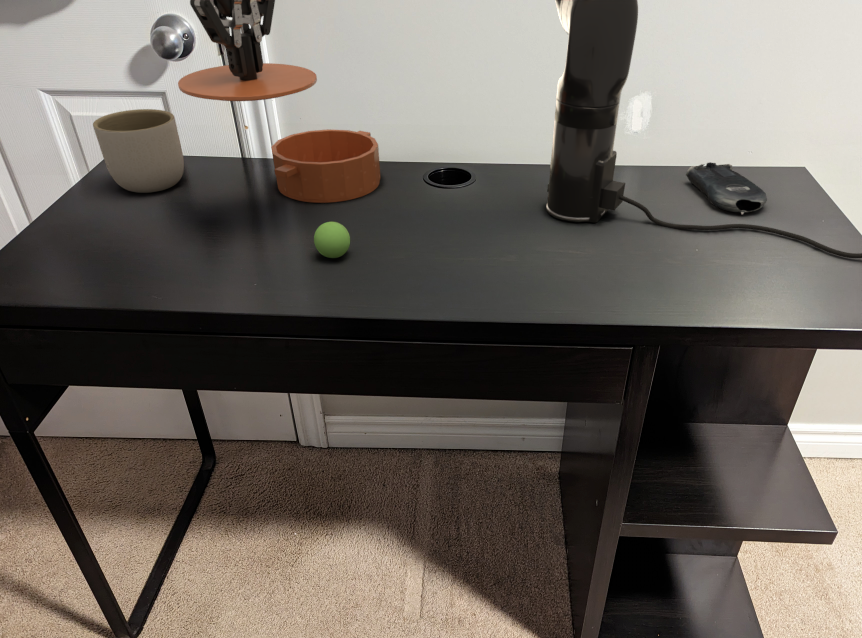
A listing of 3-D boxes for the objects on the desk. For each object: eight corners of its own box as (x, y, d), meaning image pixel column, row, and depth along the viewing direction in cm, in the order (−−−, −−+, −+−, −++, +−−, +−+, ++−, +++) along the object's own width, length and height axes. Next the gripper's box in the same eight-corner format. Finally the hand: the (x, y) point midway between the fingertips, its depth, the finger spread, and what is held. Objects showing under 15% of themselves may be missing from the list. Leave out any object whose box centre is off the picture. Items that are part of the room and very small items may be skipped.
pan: (407, 171, 124) (405, 135, 120) (328, 216, 108) (323, 176, 104) (330, 155, 130) (326, 120, 127) (245, 195, 114) (237, 156, 110)
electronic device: (677, 191, 120) (722, 214, 108) (686, 159, 118) (733, 178, 105) (724, 195, 123) (773, 217, 110) (733, 163, 120) (785, 182, 107)
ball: (358, 253, 98) (355, 220, 95) (337, 267, 94) (333, 233, 91) (330, 245, 100) (327, 213, 97) (309, 259, 96) (304, 226, 93)
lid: (344, 81, 98) (339, 30, 94) (253, 113, 85) (243, 56, 81) (247, 65, 106) (239, 17, 102) (149, 92, 93) (136, 39, 89)
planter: (96, 191, 115) (74, 125, 109) (149, 167, 124) (132, 105, 118) (154, 203, 111) (135, 135, 105) (204, 177, 121) (190, 114, 114)
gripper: (201, -72, 78) (231, 88, 88) (283, -79, 87) (301, 67, 98) (155, -75, 81) (190, 81, 91) (240, -81, 90) (262, 61, 101)
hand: (247, 73), depth 94 cm, fingers closed on lid, 2 cm apart
